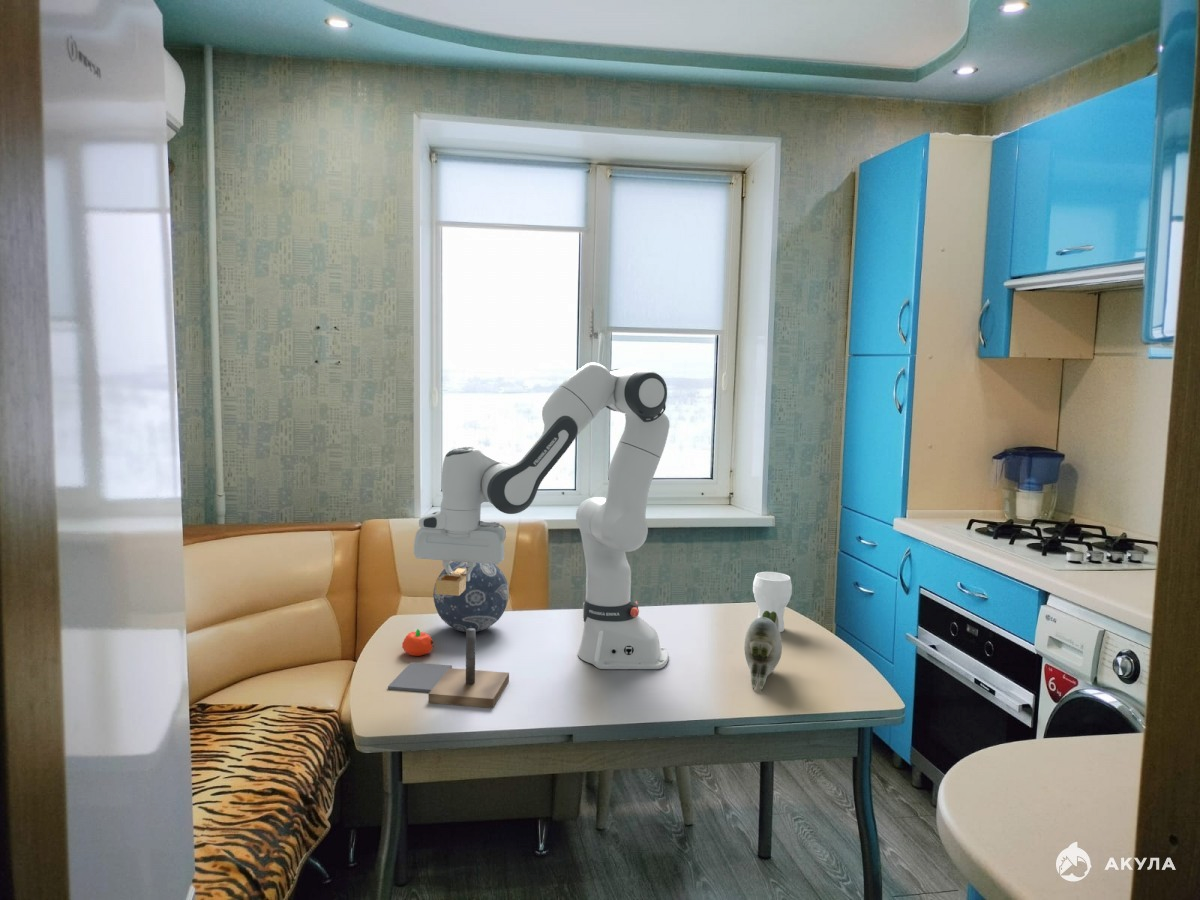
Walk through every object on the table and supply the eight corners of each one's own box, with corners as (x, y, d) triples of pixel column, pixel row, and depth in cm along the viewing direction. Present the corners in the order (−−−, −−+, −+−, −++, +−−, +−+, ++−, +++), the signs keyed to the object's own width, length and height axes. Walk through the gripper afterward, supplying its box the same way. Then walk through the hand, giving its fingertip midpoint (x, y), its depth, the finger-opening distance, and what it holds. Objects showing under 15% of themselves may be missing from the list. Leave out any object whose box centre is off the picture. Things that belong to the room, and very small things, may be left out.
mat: (451, 667, 182) (451, 665, 181) (431, 692, 168) (431, 689, 168) (411, 664, 183) (411, 662, 183) (387, 688, 169) (387, 686, 169)
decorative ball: (516, 621, 216) (517, 551, 214) (496, 646, 196) (497, 569, 194) (448, 615, 219) (448, 546, 217) (421, 640, 199) (422, 564, 197)
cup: (793, 635, 211) (796, 582, 209) (754, 634, 211) (757, 580, 209) (784, 622, 221) (787, 571, 219) (747, 621, 221) (750, 570, 220)
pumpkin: (421, 646, 195) (421, 621, 194) (438, 655, 189) (439, 629, 189) (396, 652, 190) (396, 627, 189) (413, 662, 184) (413, 636, 184)
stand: (508, 681, 175) (509, 621, 173) (493, 708, 161) (494, 643, 160) (449, 676, 176) (449, 617, 175) (428, 702, 163) (428, 638, 161)
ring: (473, 582, 176) (473, 569, 175) (458, 595, 165) (459, 582, 164) (450, 580, 176) (451, 567, 176) (435, 593, 165) (435, 580, 165)
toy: (776, 695, 172) (785, 660, 191) (779, 630, 170) (788, 601, 189) (738, 689, 175) (750, 655, 194) (740, 624, 173) (753, 597, 192)
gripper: (509, 520, 174) (507, 579, 175) (421, 514, 176) (420, 573, 178) (502, 525, 168) (500, 587, 169) (411, 519, 170) (410, 580, 171)
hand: (458, 580), depth 173 cm, fingers closed on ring, 2 cm apart
